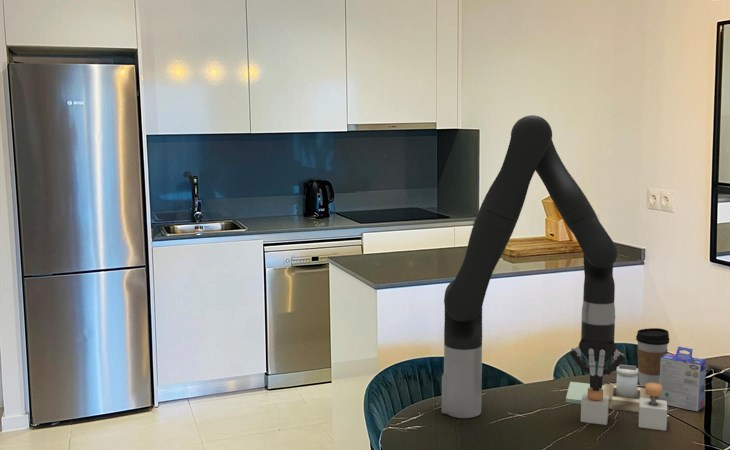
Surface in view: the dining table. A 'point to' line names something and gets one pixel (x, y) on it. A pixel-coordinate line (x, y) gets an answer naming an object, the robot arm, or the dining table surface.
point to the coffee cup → (651, 353)
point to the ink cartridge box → (682, 380)
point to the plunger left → (595, 394)
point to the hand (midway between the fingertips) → (596, 389)
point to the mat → (577, 392)
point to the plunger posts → (647, 413)
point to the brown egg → (653, 391)
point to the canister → (627, 381)
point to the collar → (623, 399)
